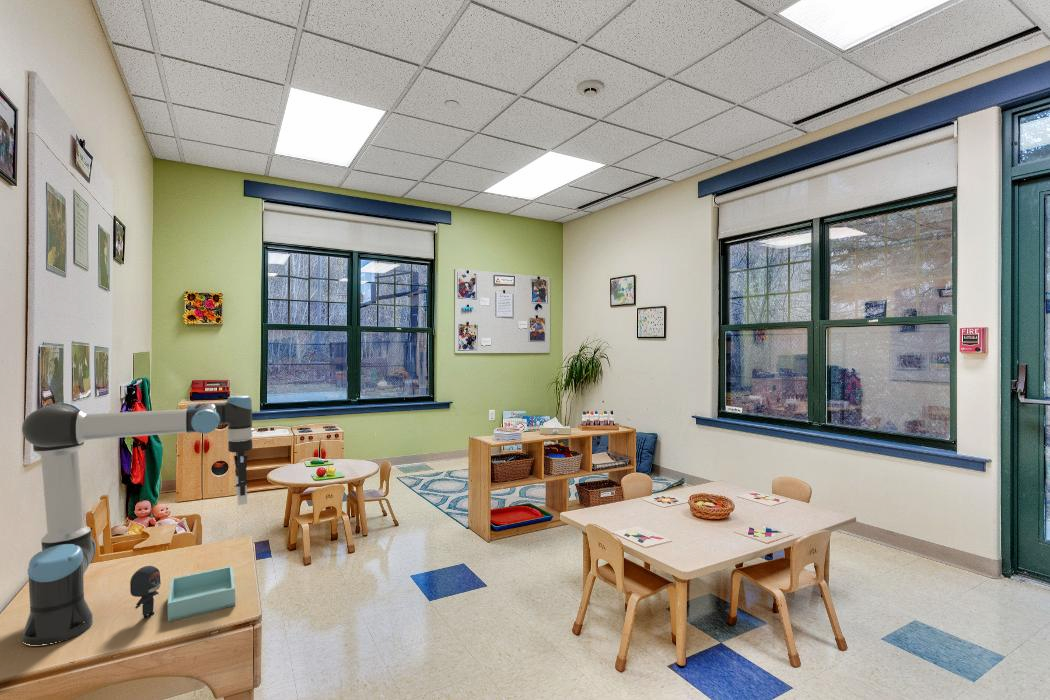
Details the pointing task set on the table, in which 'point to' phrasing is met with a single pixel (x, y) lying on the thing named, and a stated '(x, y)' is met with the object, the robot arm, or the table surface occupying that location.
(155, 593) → the toy
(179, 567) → the table surface
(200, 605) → the bin
